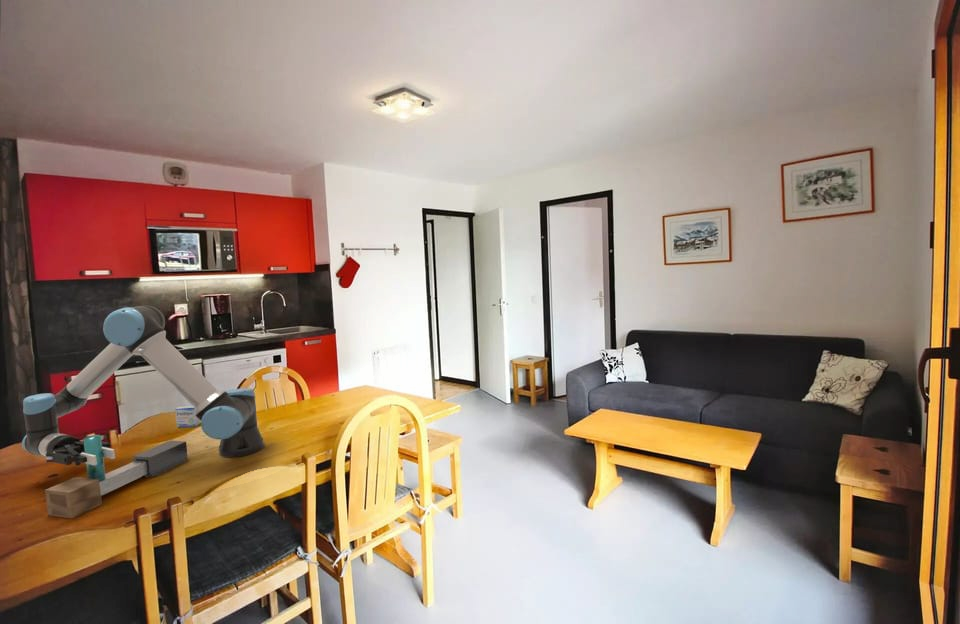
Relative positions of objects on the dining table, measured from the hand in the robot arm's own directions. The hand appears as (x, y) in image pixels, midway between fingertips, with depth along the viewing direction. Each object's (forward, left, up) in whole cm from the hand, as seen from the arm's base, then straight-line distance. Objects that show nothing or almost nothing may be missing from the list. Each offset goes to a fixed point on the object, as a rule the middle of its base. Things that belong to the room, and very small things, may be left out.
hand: (104, 457), depth 137 cm
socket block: (+5, +6, -14) cm, 16 cm away
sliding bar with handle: (+5, -5, -12) cm, 14 cm away
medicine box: (+34, -61, -14) cm, 71 cm away
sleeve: (+5, -22, -14) cm, 27 cm away
